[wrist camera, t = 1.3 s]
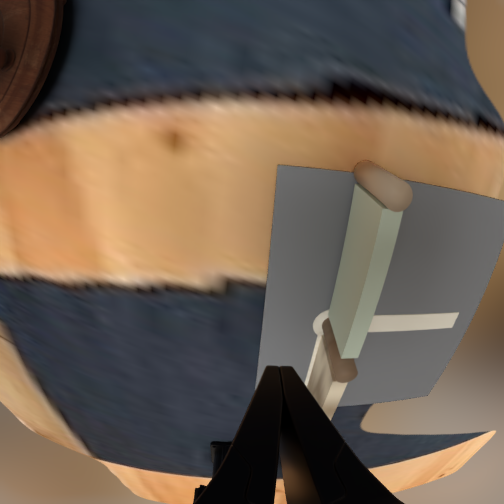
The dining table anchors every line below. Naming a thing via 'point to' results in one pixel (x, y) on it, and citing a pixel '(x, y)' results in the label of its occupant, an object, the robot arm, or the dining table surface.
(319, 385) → the fence fixed section
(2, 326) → the dining table surface
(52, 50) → the brown round-based upright piece
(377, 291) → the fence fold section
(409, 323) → the card
